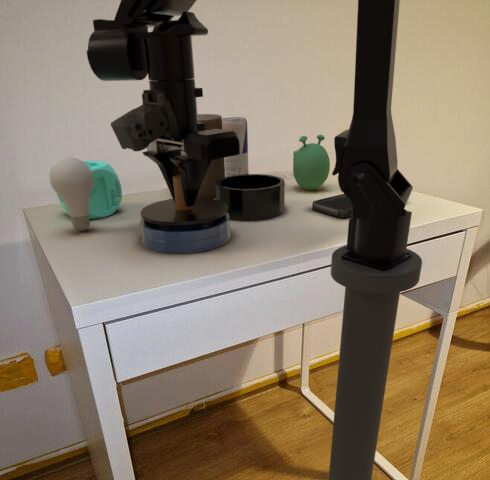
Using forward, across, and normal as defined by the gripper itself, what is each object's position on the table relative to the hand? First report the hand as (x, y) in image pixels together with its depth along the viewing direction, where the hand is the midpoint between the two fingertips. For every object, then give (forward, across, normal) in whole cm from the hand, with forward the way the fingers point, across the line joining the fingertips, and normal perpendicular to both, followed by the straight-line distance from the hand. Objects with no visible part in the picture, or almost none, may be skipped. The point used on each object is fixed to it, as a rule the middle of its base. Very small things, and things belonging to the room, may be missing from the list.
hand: (184, 204), depth 66 cm
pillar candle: (+5, -19, +18) cm, 27 cm away
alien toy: (+5, -5, +34) cm, 35 cm away
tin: (+5, -3, +16) cm, 17 cm away
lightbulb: (+5, -15, -9) cm, 18 cm away
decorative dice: (+5, -23, -3) cm, 24 cm away
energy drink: (+5, -23, +31) cm, 39 cm away
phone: (+5, +9, +30) cm, 32 cm away
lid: (+1, 0, 0) cm, 1 cm away
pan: (+5, 0, 0) cm, 5 cm away
